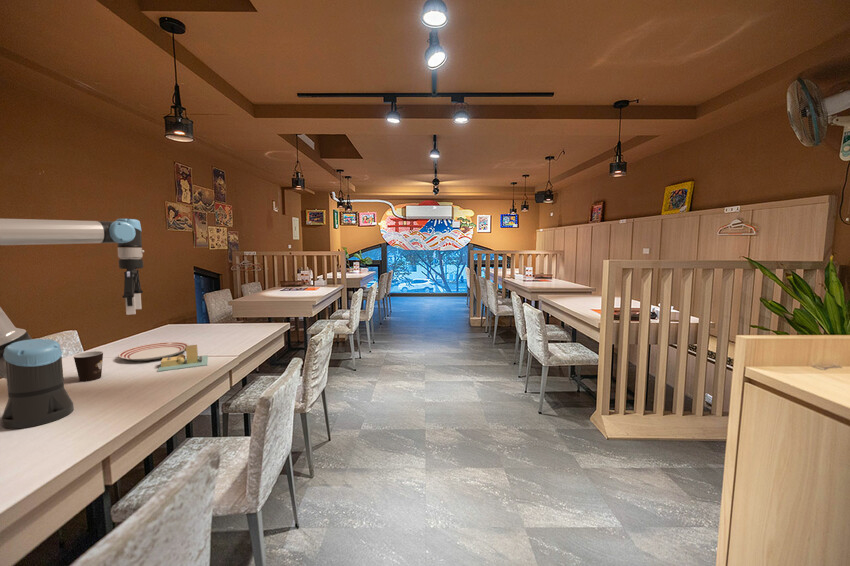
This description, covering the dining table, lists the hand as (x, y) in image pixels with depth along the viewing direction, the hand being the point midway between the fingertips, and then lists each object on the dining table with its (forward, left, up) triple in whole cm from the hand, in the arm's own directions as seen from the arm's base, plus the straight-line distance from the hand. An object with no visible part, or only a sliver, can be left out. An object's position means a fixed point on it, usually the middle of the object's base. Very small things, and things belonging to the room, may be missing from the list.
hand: (134, 311), depth 145 cm
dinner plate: (+33, -2, -27) cm, 43 cm away
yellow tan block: (+11, -18, -26) cm, 34 cm away
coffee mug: (+7, +15, -27) cm, 32 cm away
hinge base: (+11, -15, -27) cm, 33 cm away
